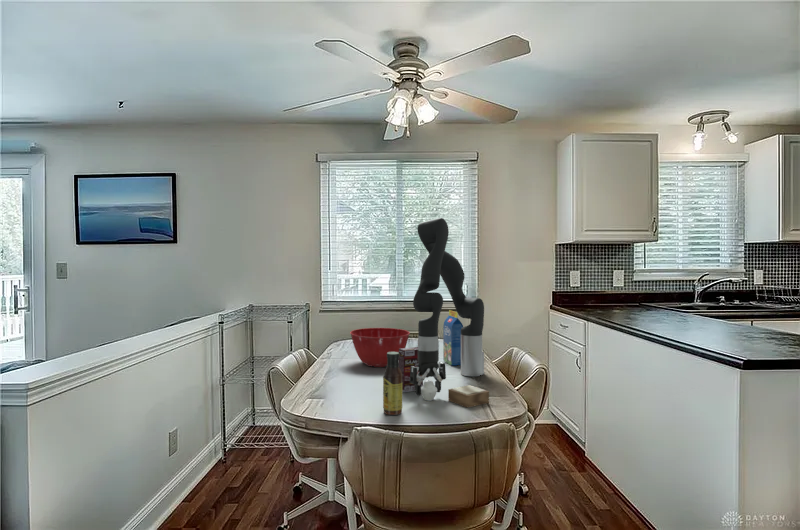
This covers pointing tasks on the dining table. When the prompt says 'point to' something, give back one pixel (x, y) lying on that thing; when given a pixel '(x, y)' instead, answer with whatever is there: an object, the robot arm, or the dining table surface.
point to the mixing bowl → (378, 344)
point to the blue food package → (452, 339)
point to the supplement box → (408, 366)
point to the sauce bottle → (392, 385)
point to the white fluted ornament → (428, 390)
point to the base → (468, 396)
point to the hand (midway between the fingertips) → (428, 393)
